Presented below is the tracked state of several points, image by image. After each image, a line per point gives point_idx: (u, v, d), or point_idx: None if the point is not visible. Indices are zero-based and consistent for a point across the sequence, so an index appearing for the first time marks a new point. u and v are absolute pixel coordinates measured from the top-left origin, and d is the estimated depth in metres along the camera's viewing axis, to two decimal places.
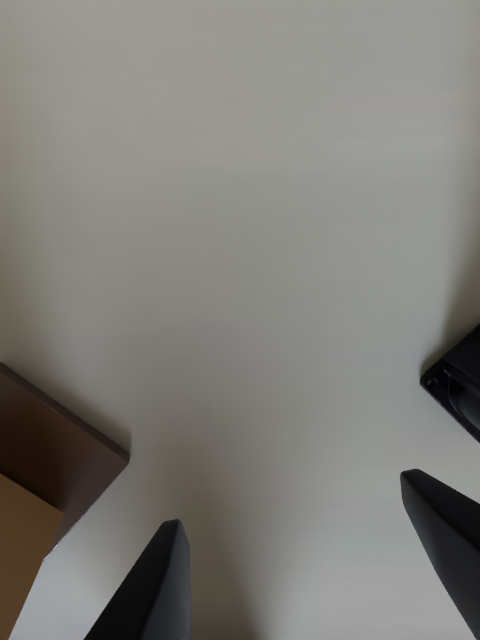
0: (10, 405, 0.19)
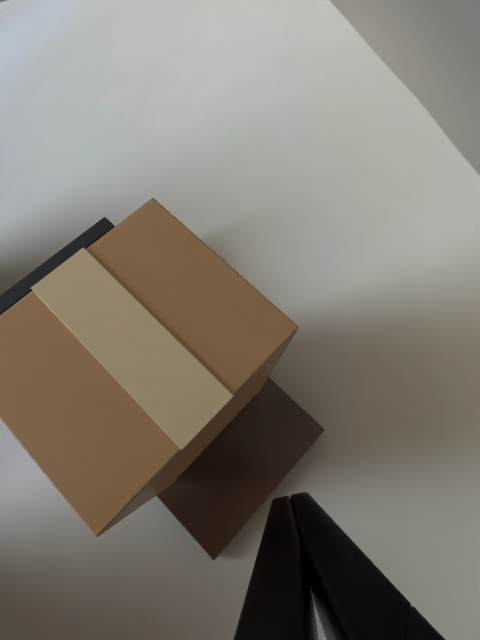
0: (287, 441, 0.21)
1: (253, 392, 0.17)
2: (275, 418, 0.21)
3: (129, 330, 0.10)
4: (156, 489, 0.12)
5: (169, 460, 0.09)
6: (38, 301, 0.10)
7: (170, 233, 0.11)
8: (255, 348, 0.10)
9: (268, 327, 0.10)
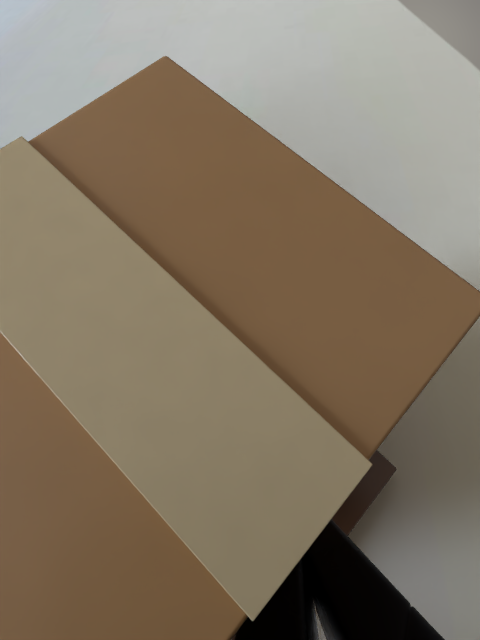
0: None
1: None
2: None
3: (113, 306, 0.04)
4: None
5: None
6: None
7: (202, 115, 0.05)
8: (405, 347, 0.04)
9: (425, 300, 0.04)
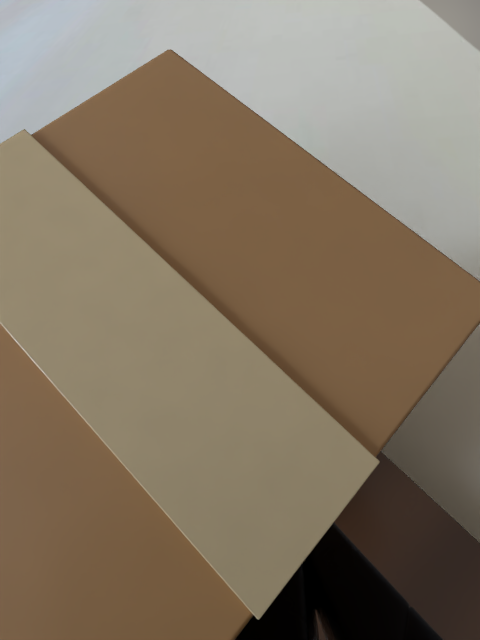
0: (478, 610, 0.14)
1: None
2: (455, 571, 0.14)
3: (117, 300, 0.04)
4: None
5: None
6: None
7: (206, 109, 0.05)
8: (412, 343, 0.04)
9: (434, 296, 0.04)
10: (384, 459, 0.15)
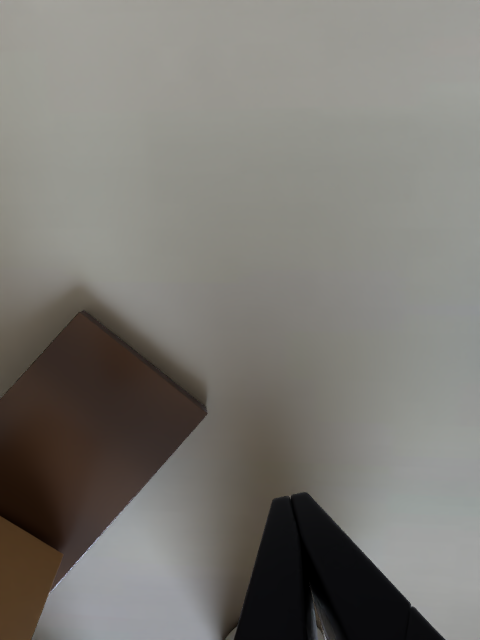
0: (95, 352, 0.19)
1: None
2: (71, 365, 0.19)
3: None
4: None
5: None
6: None
7: None
8: None
9: None
10: None
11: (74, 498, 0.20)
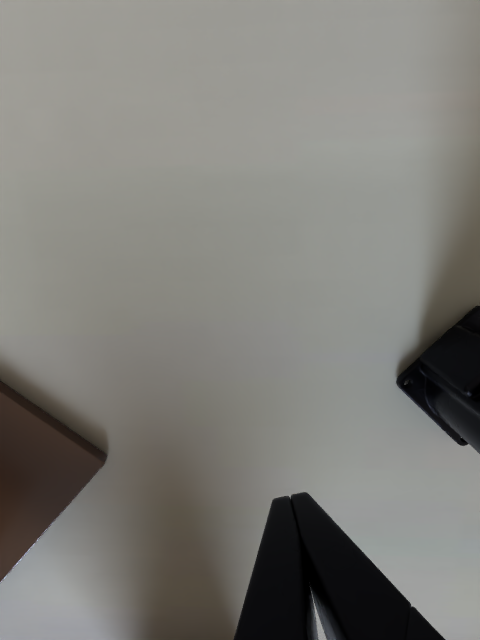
0: None
1: None
2: None
3: None
4: None
5: None
6: None
7: None
8: None
9: None
10: None
11: None
